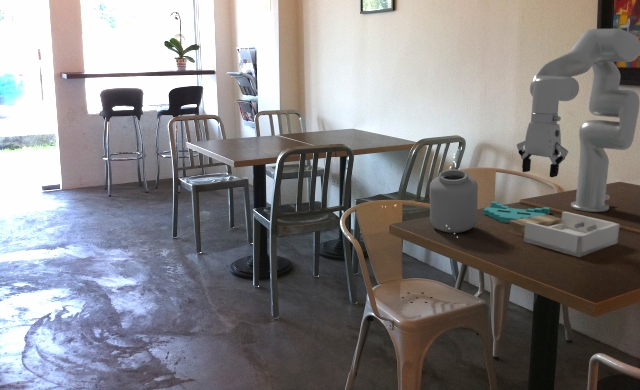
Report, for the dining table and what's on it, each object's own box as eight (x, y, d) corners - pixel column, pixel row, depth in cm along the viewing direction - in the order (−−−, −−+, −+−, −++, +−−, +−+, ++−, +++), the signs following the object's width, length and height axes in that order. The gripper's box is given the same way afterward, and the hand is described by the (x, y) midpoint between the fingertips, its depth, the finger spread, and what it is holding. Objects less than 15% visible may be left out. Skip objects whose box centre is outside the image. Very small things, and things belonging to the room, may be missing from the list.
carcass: (562, 229, 201) (564, 211, 200) (617, 243, 187) (619, 223, 186) (523, 241, 189) (525, 222, 188) (579, 257, 176) (581, 236, 174)
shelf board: (546, 226, 206) (547, 214, 205) (560, 231, 201) (561, 219, 200) (508, 232, 200) (509, 220, 199) (522, 237, 194) (522, 225, 193)
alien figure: (492, 207, 231) (478, 220, 214) (492, 201, 230) (478, 214, 213) (549, 213, 222) (540, 228, 205) (550, 207, 221) (540, 221, 204)
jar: (468, 241, 190) (473, 159, 184) (421, 235, 196) (423, 155, 190) (480, 224, 207) (484, 149, 201) (436, 220, 213) (438, 146, 207)
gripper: (577, 120, 187) (571, 177, 191) (527, 115, 201) (523, 168, 205) (562, 122, 183) (557, 180, 187) (512, 117, 196) (508, 171, 200)
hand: (539, 174), depth 196 cm, fingers open, 9 cm apart
